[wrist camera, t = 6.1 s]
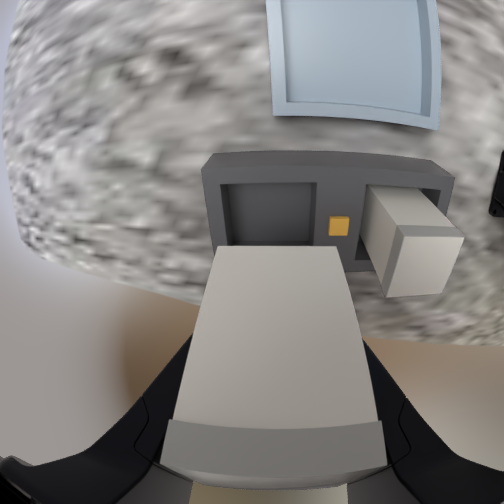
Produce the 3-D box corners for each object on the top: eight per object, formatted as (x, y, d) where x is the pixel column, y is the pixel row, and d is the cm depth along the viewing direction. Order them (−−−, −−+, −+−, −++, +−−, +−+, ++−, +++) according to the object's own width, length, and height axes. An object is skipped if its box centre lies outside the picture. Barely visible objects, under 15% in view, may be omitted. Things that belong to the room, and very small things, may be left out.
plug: (337, 245, 9) (387, 464, 3) (322, 324, 11) (337, 486, 6) (216, 244, 9) (159, 463, 4) (227, 323, 12) (203, 484, 6)
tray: (420, -9, 9) (433, -14, 7) (424, 124, 15) (438, 130, 13) (262, -32, 10) (261, -44, 8) (272, 112, 16) (273, 115, 14)
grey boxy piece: (431, 160, 16) (494, 209, 10) (412, 244, 21) (451, 311, 14) (213, 153, 18) (176, 202, 12) (224, 245, 22) (205, 320, 16)
